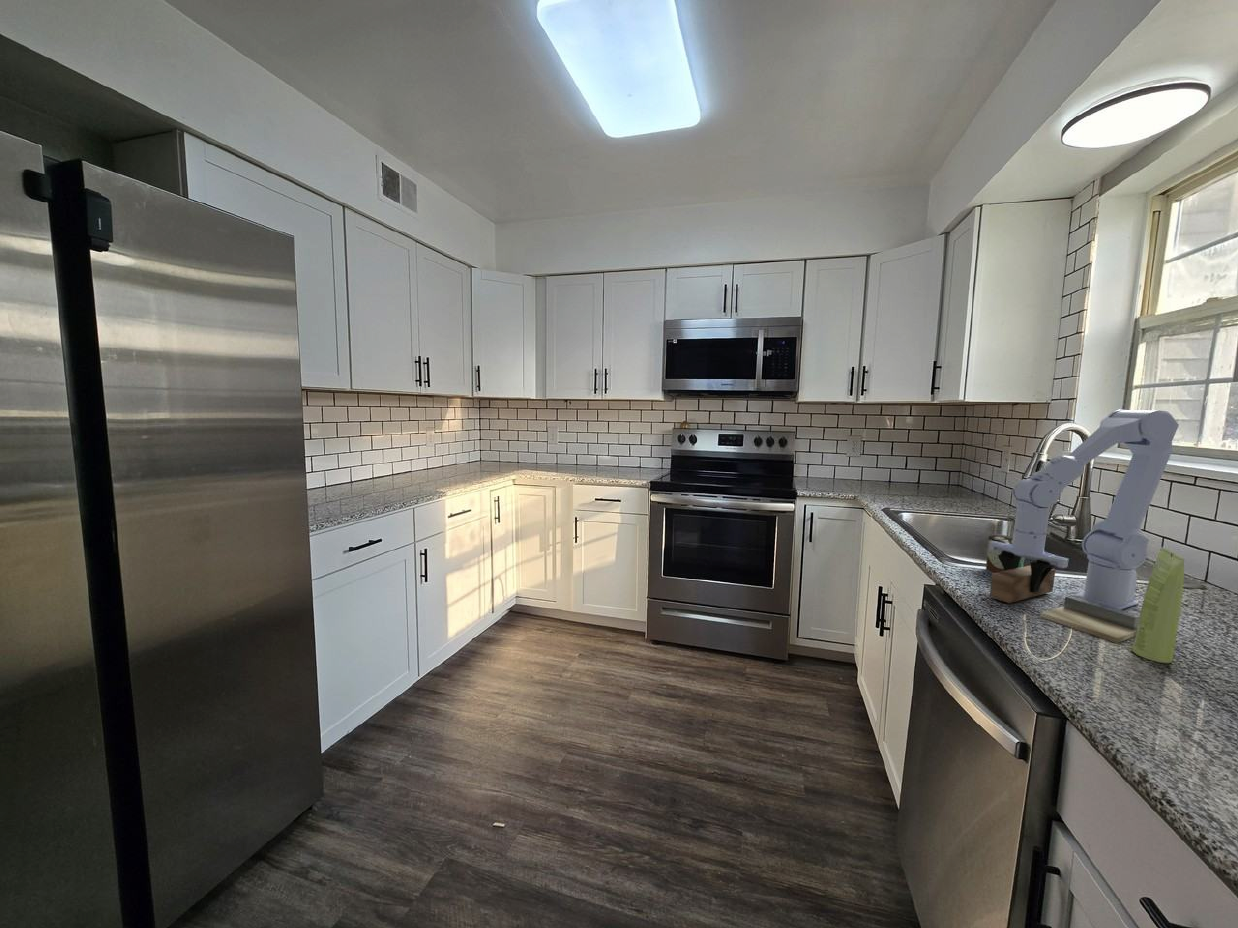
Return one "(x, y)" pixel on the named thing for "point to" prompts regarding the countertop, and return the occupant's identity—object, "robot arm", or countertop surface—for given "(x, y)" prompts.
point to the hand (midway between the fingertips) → (1022, 587)
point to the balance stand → (1094, 619)
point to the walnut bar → (1018, 584)
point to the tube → (1161, 609)
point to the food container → (997, 553)
